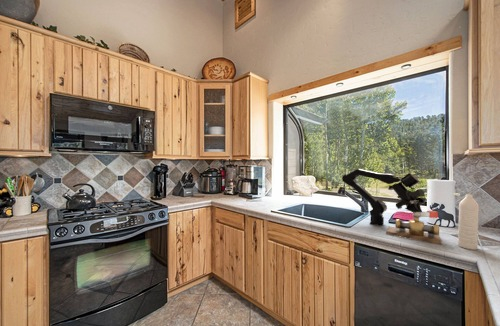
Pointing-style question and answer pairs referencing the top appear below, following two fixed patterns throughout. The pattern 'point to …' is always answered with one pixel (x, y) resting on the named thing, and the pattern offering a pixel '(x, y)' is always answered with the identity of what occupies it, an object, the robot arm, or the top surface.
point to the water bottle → (468, 222)
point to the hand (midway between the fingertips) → (422, 216)
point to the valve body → (417, 227)
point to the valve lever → (426, 214)
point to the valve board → (423, 238)
